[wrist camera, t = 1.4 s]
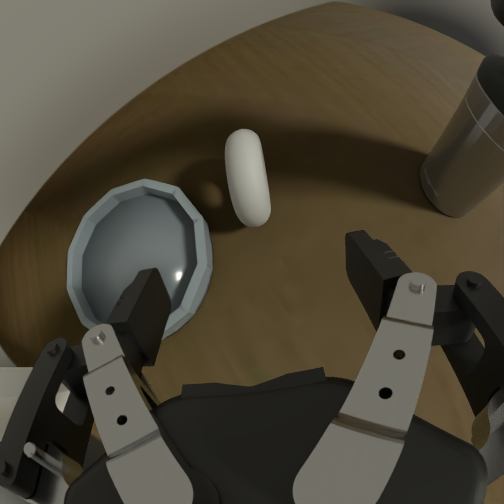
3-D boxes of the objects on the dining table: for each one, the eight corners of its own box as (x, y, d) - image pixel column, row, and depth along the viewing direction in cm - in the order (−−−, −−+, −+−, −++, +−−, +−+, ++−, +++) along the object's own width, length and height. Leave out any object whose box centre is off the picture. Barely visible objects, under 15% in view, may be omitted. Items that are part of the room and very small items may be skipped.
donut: (237, 166, 33) (219, 111, 23) (265, 163, 33) (255, 105, 23) (243, 242, 30) (223, 201, 21) (275, 238, 30) (268, 195, 20)
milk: (54, 398, 27) (-68, 406, 6) (59, 365, 29) (-73, 358, 8) (81, 422, 26) (-49, 448, 5) (88, 387, 27) (-58, 399, 6)
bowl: (205, 177, 33) (198, 163, 30) (224, 335, 27) (216, 336, 24) (86, 212, 35) (73, 203, 31) (85, 345, 29) (69, 345, 26)
